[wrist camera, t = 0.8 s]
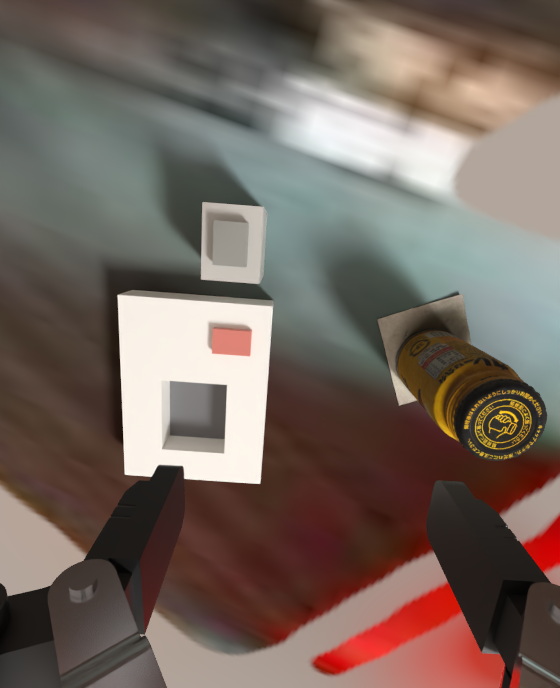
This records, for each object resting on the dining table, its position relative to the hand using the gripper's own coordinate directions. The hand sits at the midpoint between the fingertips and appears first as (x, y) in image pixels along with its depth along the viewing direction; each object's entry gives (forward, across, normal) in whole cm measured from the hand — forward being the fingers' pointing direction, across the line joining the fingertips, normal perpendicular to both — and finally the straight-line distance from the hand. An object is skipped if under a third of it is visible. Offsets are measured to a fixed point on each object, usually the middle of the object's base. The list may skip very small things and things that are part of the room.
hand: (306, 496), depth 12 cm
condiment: (+22, -12, +1) cm, 25 cm away
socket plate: (+22, +8, +6) cm, 24 cm away
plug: (+22, +5, -7) cm, 23 cm away
